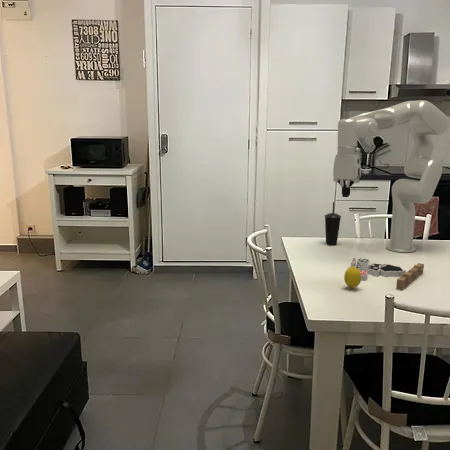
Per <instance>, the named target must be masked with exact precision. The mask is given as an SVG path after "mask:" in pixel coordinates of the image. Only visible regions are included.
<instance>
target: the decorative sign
mask: <svg viewBox="0 0 450 450" xmlns="http://www.w3.org/2000/svg"><path fill="white" fill-rule="evenodd" d="M370 261H371V260H370V259H367V258H356V257H352V259H351V262H350V267H352V266H354V267H356V268H357V269H358V270H359V271H360V273H361V281H360V282H362V281H363V282H366V281H368V275H370V276H373V277H379V276H382V277H384V278H389V277H390V278H391V277H393V278H395V277H396V278H400V277H401V276H402V275H403V274H404V273H406V272H407V270H405V269H404V268H402V267H401V266H399V265H394V264H389V263H371V262H370Z"/></svg>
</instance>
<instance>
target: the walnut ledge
mask: <svg viewBox="0 0 450 450" xmlns="http://www.w3.org/2000/svg"><path fill="white" fill-rule="evenodd" d="M424 268H425V264H424V263H419V262H418V263H417V264H413V267H411V268H410V269H409V270H408V271H406V273H404V274H403V275H402V276H399V277H397V279H396V288H395V289H396V290H397V291H398V290H399V291H404V290H405V289H406V288H407V287H408V286H409V285H411V284H412V283H414V281H416V279H418V278H419V277H420V276H421V275H423V274H424V270H425V269H424Z"/></svg>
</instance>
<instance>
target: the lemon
mask: <svg viewBox="0 0 450 450" xmlns="http://www.w3.org/2000/svg"><path fill="white" fill-rule="evenodd" d="M343 276H344V277H343V278H344V279H343V280H344V283H345V285H346V286H347V287H349V288H350V289H352V290H353V289H354V288H356V287H358V286H359V285H360V284H361V282H362V281H361V273H360V271H359V270H358V269H357V268H356V267H354V266H352V267H351V266H350V267H348V268H347V269H346V270H345V272H344V275H343Z"/></svg>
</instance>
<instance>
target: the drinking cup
mask: <svg viewBox="0 0 450 450" xmlns="http://www.w3.org/2000/svg"><path fill="white" fill-rule="evenodd" d="M331 210H332V211H331V212H330V213H329V212H328V213H327V214H325V215H324V222H325V223H324V227H325V244H327V246H330V247H331V246H332V247H333V246H337V244H338V238H339V231H340V224H341V219H342V215H340V214H339V213H337V212H335V201H332V209H331Z"/></svg>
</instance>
